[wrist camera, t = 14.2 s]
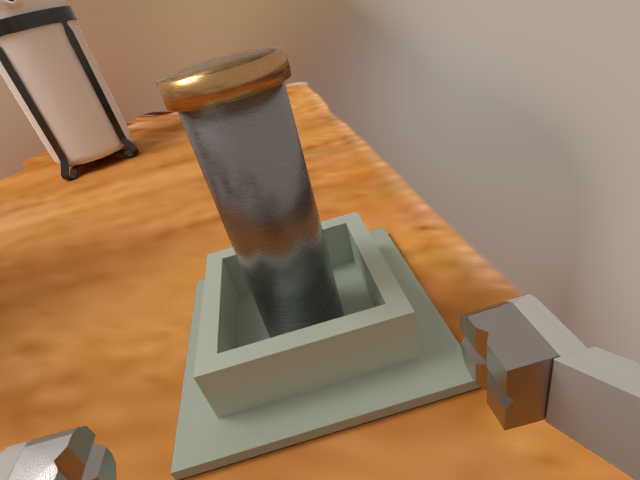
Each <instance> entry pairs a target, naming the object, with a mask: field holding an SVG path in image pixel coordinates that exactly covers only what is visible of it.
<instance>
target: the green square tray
mask: <svg viewBox="0 0 640 480" xmlns="http://www.w3.org/2000/svg"><path fill="white" fill-rule="evenodd" d="M321 226H322V230H323V234H324V238H325V241H326V245H327V249H328V253H329V257H330V261H331V265H332V269H333V273H334V277H335V280H336V284H337V288H338V292H339V296H340V300H341V304H342V308H343V313H344V316H343V317H339V318H336V319H333V320H329V321H326V322H323V323H319V324H316V325H312V326H309V327H306V328H302V329H299V330H296V331H292V332H289V333H285V334H282V335H279V336H275V337H272V338H270V337H269V335H268V332H267V330H266V327H265V325H264V323H263V320H262V318H261V315H260V313H259V310H258V308H257V305H256V303H255V300H254V298H253V296H252V293H251V291H250V288H249V286H248V283H247V281H246V278H245V276H244V273H243V271H242V268H241V266H240V264H239V261H238V259H237V256H236V254H235V251H234V249H233V247H232V248H228V249H225V250H221V251H218V252H214V253H211V254H208V255H207V264H206V273H205V279H202V280H199V281H197V288H196V296H195V303H194V310H193V317H192V324H191V331H190V338H189V346H188V353H187V360H186V367H185V374H184V381H183V388H182V396H181V403H180V410H179V417H178V424H177V431H176V438H175V445H174V453H173V460H172V467H171V474H172V476H173V477H174V478H175V479H176V480H179V479H183V478H186V477H189V476H192V475H196V474H199V473H202V472H205V471H209V470H212V469H215V468H219V467H222V466H225V465H228V464H232V463H235V462H238V461H241V460H245V459H248V458H251V457H254V456H258V455H261V454H264V453H268V452H271V451H274V450H277V449H281V448H284V447H287V446H290V445H294V444H297V443H300V442H303V441H307V440H310V439H313V438H317V437H320V436H323V435H326V434H330V433H333V432H336V431H339V430H343V429H346V428H349V427H352V426H356V425H359V424H362V423H366V422H369V421H372V420H375V419H379V418H382V417H385V416H388V415H392V414H395V413H398V412H401V411H405V410H408V409H411V408H415V407H418V406H421V405H424V404H428V403H431V402H434V401H437V400H441V399H444V398H447V397H450V396H454V395H457V394H460V393H464V392H467V391H470V390H473V389H477V388H480V386H478V385H476V384H475V382H474V380H473V379H472V377H471V375H470V374H469V371H468V369H467V367H466V365H465V362H464V358H463V355H462V349H461V346H460V344H459V343H458V341H457V340H456V338H455V337H454V335H453V333H452V332H451V330H450V329H449V327H448V326H447V324H446V323H445V321H444V320H443V318H442V317H441V315H440V313H439V312H438V310H437V309H436V307H435V306H434V304H433V303H432V301H431V300H430V298H429V297H428V295H427V293H426V292H425V290H424V289H423V287H422V286H421V284H420V283H419V281H418V280H417V278H416V277H415V275H414V273H413V272H412V270H411V269H410V267H409V266H408V264H407V263H406V261H405V260H404V258H403V257H402V255H401V253H400V252H399V250H398V249H397V247H396V246H395V244H394V243H393V241H392V240H391V238H390V237H389V235H388V233H387V232H386V230H385V229H384V227H382V228H378V229H375V230H371V231H368V230H367V228H366V226H365V224H364V223H363V221H362V219H361V217H360V216H359V214H358V212H353V213H350V214H346V215H343V216H339V217H336V218H332V219H329V220H326V221H322V222H321Z"/></svg>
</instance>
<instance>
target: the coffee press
mask: <svg viewBox="0 0 640 480" xmlns="http://www.w3.org/2000/svg"><path fill="white" fill-rule="evenodd" d="M76 20H77V18H76V16H75V14H74V12H73V10H72V8H71V6H68V3H67V1H66V0H0V74H1V76H2V77H3V79H4V80H5V82H6V84H7V85H8V87H9V89H10V90H11V92H12V93H13V95H14V97H15V98H16V100H17V102H18V103H19V105H20V106H21V108H22V110H23V111H24V113H25V115H26V116H27V118H28V120H29V121H30V123H31V125H32V126H33V128H34V129H35V131H36V133H37V134H38V136H39V137H40V139H41V141H42V142H43V144H44V146H45V147H46V149H47V150H48V152H49V154H50V155H51V157H52V158H53V160H54V161H55V162H56V163H58V164H60V165H61V176H62V178H63V179H65V180H71V179H76V177H77V173H78V168H79V167H80V166H81V165H82V164H84V163H88V162H91V161H95V160H97V159H100V158H103V157H105V156H108V155H110V154H112V153H122V154H124V155H126V156H128V157H130V158H132V157H134V156H135V155H137V154H138V152H139V150H138V148H137V147H136V146H135V145H133V144H132V143H131V142H130V132H129V130H128V127H127V125H126V123H125V121H124V119H123V117H122V115H121V113H120V111H119V109H118V107H117V104H116V102H115V100H114V98H113V96H112V94H111V92H110V90H109V88H108V86H107V84H106V82H105V80H104V78H103V76H102V74H101V71H100V70H99V67H98V66H97V63H96V61H95V59H94V57H93V55H92V53H91V51H90V49H89V47H88V45H87V43H86V41H85V39H84V36H83V34H82V32H81V30H80V28H79V27H78V24H77V22H76ZM124 146H126V147H127V148H128V149H130V150H131V151H132V152H131V151H129V150H127V149H121V148H123V147H124ZM68 166H73V167H72V168H71V171H70V176H69V167H68Z"/></svg>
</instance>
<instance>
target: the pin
mask: <svg viewBox="0 0 640 480" xmlns="http://www.w3.org/2000/svg"><path fill="white" fill-rule="evenodd" d="M290 76H291V70H290V66H289V62H288V58H287V53H286V49H285V46H280V45H277V46H267V47H261V48H256V49H251V50H246V51H242V52H237V53H233V54H229V55H225V56H222V57H218V58H214V59H211V60H208V61H204V62H201V63H198V64H195V65H192V66H189V67H186V68H183V69H180V70H178V71H175V72H173V73H170V74H168V75H166V76H164V77H162V78H160V79H158V80H157V81H156V84H157V87H158V89H159V92H160V94H161V96H162V99H163V101H164V104H165V106H166V108H167V110H168V111H173V112H178V113H179V116H180V118H181V121H182V123H183V126H184V128H185V131H186V133H187V136H188V138H189V141H190V143H191V145H192V148H193V150H194V153H195V155H196V158H197V160H198V163H199V165H200V168H201V170H202V173H203V175H204V177H205V180H206V182H207V185H208V187H209V190H210V192H211V195H212V197H213V200H214V202H215V205H216V207H217V209H218V212H219V214H220V217H221V219H222V222H223V224H224V227H225V229H226V232H227V234H228V236H229V239H230V241H231V244H232V246H233V249H234V251H235V254H236V256H237V259H238V261H239V264H240V266H241V268H242V271H243V273H244V276H245V278H246V281H247V283H248V286H249V288H250V291H251V293H252V296H253V298H254V300H255V303H256V305H257V308H258V310H259V313H260V315H261V318H262V320H263V323H264V325H265V327H266V330H267V332H268V335H269V337H270V338H272V337H275V336H279V335H282V334H285V333H289V332H292V331H296V330H299V329H302V328H306V327H309V326H312V325H316V324H319V323H323V322H326V321H329V320H333V319H336V318H339V317H343V316H344V313H343V308H342V304H341V300H340V296H339V292H338V288H337V284H336V280H335V277H334V273H333V269H332V265H331V261H330V257H329V253H328V249H327V245H326V241H325V238H324V234H323V230H322V226H321V222H320V218H319V214H318V210H317V206H316V202H315V198H314V195H313V191H312V187H311V183H310V179H309V175H308V171H307V167H306V163H305V159H304V155H303V152H302V148H301V144H300V140H299V136H298V132H297V128H296V124H295V120H294V116H293V112H292V109H291V105H290V101H289V97H288V93H287V89H286V85H285V80H287V79H288V78H289V77H290Z"/></svg>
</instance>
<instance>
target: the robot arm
mask: <svg viewBox="0 0 640 480" xmlns="http://www.w3.org/2000/svg"><path fill="white" fill-rule="evenodd" d="M460 328H461V330H462V331H463V333H464V334H465V337H464V338H463V340H462V341H461V349H462V355H463V358H464V362H465V365H466V367H467V369H468V371H469V374H470V375H471V377H472V379H473V380H474V382H475V384H476V385H478V386H480V387H482V388H483V389H485V390H487V403H488V405H489V406H490V408H491V410H492V411H493V413H494V414H495V416H496V418H497V419H498V421H499V422H500V424H501V425H502V427H503V429H504V430H508V429H512V428H515V427H519V426H523V425H526V424H530V423H534V422H538V421H541V420H545V419H546V422H547V423H549V424H550V425H552V426H553V427H555V428H556V429H558V430H559V431H561V432H562V433H564V434H566V435H567V436H569V437H570V438H572V439H573V440H575V441H576V442H578V443H579V444H581V445H583V446H584V447H586V448H587V449H589V450H590V451H592V452H593V453H595V454H596V455H598V456H600V457H601V458H603V459H604V460H606V461H607V462H609V463H610V464H612V465H613V466H615V467H616V468H618V469H620V470H621V471H623V472H624V473H626V474H627V475H629V476H630V477H632V478H633V479H635V480H640V363H638V362H635V361H632V360H630V359H627V358H624V357H622V356H619V355H617V354H614V353H611V352H609V351H606V350H604V349H601V348H599V347H596V346H595V347H591V348H587V347H586V346H585V345H584V344H583V343H582V342H581V341H580V340H579V339H578V338H577V337H576V336H575V335H574V334H573V333H572V332H571V331H570V330H569V329H568V328H567V327H566V326H565V325H564V324H563V323H562V322H561V321H560V320H559V319H558V318H557V317H556V316H555V315H553V313H552V312H551V311H550V310H548V309H547V308H546V307H545V306H544V305H543V304H542V303H541V302H540V301H539V300H538V299H537V298H536V297H535V296H533V295H531V294H528V295H524V296H521V297H518V298H514V299H511V300H508V301H506V302H500V303H497V304H494V305H491V306H487V307H484V308H481V309H477V310H474V311H471V312H468V313H464V314H462V315H461V318H460ZM94 439H95V434H94V433H93V432H92V431H91V430H90V429H89V428H88V427H87V426H83V427H77V428H74V429H70V430H66V431H62V432H59V433H55V434H51V435H47V436H44V437H40V438H36V439H32V440H30V441H26V442H22V443H19V444H15V445H11V446H8V447H7V448H6V449H4V450H3V451H2V452H1V453H0V480H116V463H115V460H114V458H113V455H112V453H111V452H110V451H109V450H108V448H107V447H105V446H102V445H99V444H96V443H94Z"/></svg>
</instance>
